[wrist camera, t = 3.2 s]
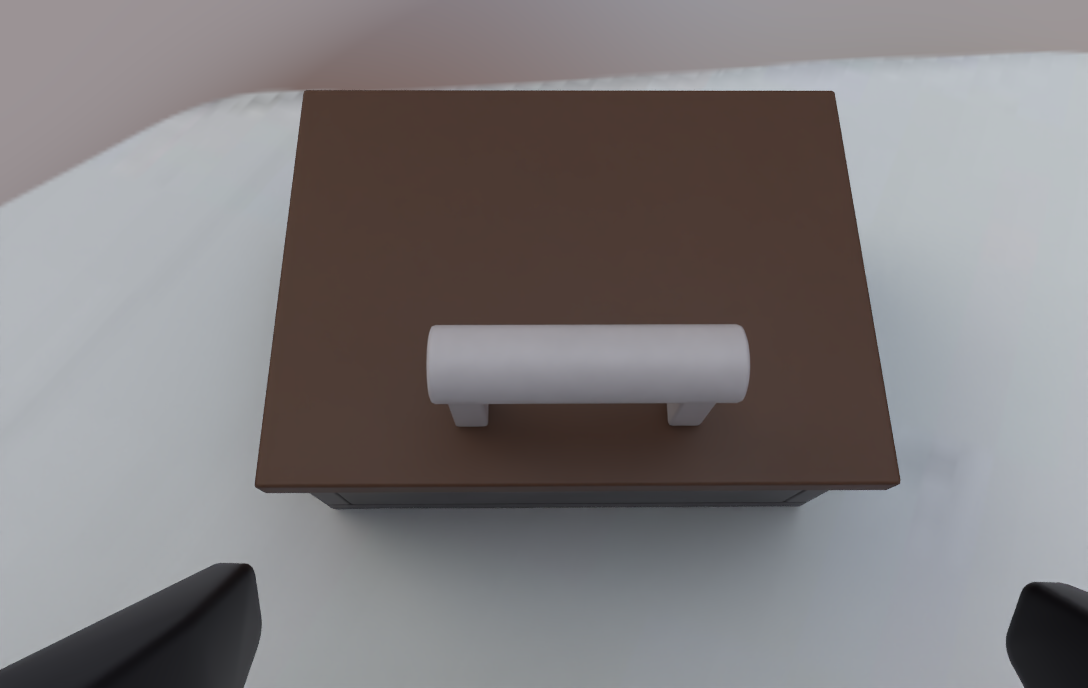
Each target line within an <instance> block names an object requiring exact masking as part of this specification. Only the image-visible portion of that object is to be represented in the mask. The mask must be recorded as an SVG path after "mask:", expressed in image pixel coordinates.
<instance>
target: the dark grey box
mask: <svg viewBox="0 0 1088 688" xmlns="http://www.w3.org/2000/svg"><path fill="white" fill-rule="evenodd" d="M827 491H829V490H758V491H564V492H370V493H310V494H312V495H313V496H315V497H316V498H318V499H319V500H321V501H322V502H324V503H325V504H327V505H328V506H330V507H331V508H333V509H368V508H553V507H738V506H801V505H803V504H805V503H806V502H808V501H810V500H812V499H814V498H816V497H817V496H819V495H821V494H823V493H825V492H827Z"/></svg>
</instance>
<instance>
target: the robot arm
mask: <svg viewBox="0 0 1088 688" xmlns="http://www.w3.org/2000/svg"><path fill="white" fill-rule="evenodd" d="M261 628H262V619H261V611H260V605H259V598H258V591H257V584H256V577H255V573H254V570H253V568H252V567H251V566H250V565H249V564H239V563H218V564H214V565H212V566H210V567H208V568H206V569H204V570H202V571H200V572H198V573H196V574H194V575H192V576H190V577H188V578H186V579H184V580H182V581H180V582H178V583H175V584H173V585H171V586H169V587H167V588H165V589H163V590H161V591H159V592H157V593H155V594H153V595H151V596H149V597H147V598H145V599H143V600H141V601H139V602H137V603H135V604H133V605H131V606H129V607H127V608H125V609H123V610H121V611H119V612H117V613H115V614H113V615H111V616H109V617H106V618H104V619H102V620H100V621H98V622H96V623H94V624H92V625H90V626H88V627H86V628H84V629H82V630H80V631H78V632H76V633H74V634H72V635H70V636H68V637H66V638H64V639H62V640H60V641H58V642H56V643H54V644H52V645H50V646H48V647H46V648H44V649H42V650H40V651H37V652H35V653H33V654H31V655H29V656H27V657H25V658H23V659H21V660H19V661H17V662H15V663H13V664H11V665H9V666H7V667H5V668H3V669H1V670H0V688H244V685H245V682H246V679H247V676H248V673H249V670H250V667H251V665H252V662H253V659H254V656H255V653H256V650H257V647H258V644H259V640H260V636H261ZM1006 648H1007V653H1008V656H1009V659H1010V661H1011V664H1012V665H1013V667H1014V669H1015V671H1016V673H1017V675H1018V676H1019V678H1020V680H1021V682H1022V684H1023V686H1024V687H1025V688H1088V592H1086V591H1083V590H1081V589H1078V588H1076V587H1073V586H1071V585H1068V584H1063V583H1053V582H1032V583H1029V584H1027V585H1026V586H1025V587H1024V588H1023V590H1022V592H1021V594H1020V597H1019V600H1018V603H1017V606H1016V609H1015V612H1014V614H1013V617H1012V620H1011V623H1010V626H1009V629H1008V632H1007V636H1006Z"/></svg>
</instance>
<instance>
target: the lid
mask: <svg viewBox="0 0 1088 688" xmlns="http://www.w3.org/2000/svg"><path fill="white" fill-rule="evenodd" d="M898 484H900V475H899V469H898V463H897V457H896V451H895V446H894V440H893V434H892V428H891V422H890V416H889V410H888V404H887V399H886V393H885V387H884V381H883V375H882V369H881V363H880V357H879V352H878V346H877V340H876V334H875V328H874V322H873V316H872V310H871V305H870V299H869V293H868V287H867V281H866V275H865V269H864V263H863V258H862V252H861V246H860V240H859V234H858V228H857V222H856V216H855V211H854V205H853V199H852V193H851V187H850V181H849V175H848V169H847V164H846V158H845V152H844V146H843V140H842V134H841V128H840V122H839V117H838V111H837V105H836V99H835V93H834V92H833V91H440V90H306V91H304V94H303V102H302V110H301V118H300V126H299V134H298V142H297V150H296V158H295V166H294V174H293V182H292V190H291V198H290V206H289V214H288V222H287V230H286V238H285V246H284V254H283V262H282V270H281V278H280V286H279V294H278V302H277V310H276V318H275V326H274V334H273V342H272V350H271V358H270V366H269V374H268V382H267V390H266V398H265V406H264V414H263V422H262V430H261V438H260V446H259V454H258V462H257V470H256V478H255V487H256V488H258V489H260V490H261V491H263V492H265V493H370V492H564V491H758V490H887V489H889V488H892V487H894V486H896V485H898Z"/></svg>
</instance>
